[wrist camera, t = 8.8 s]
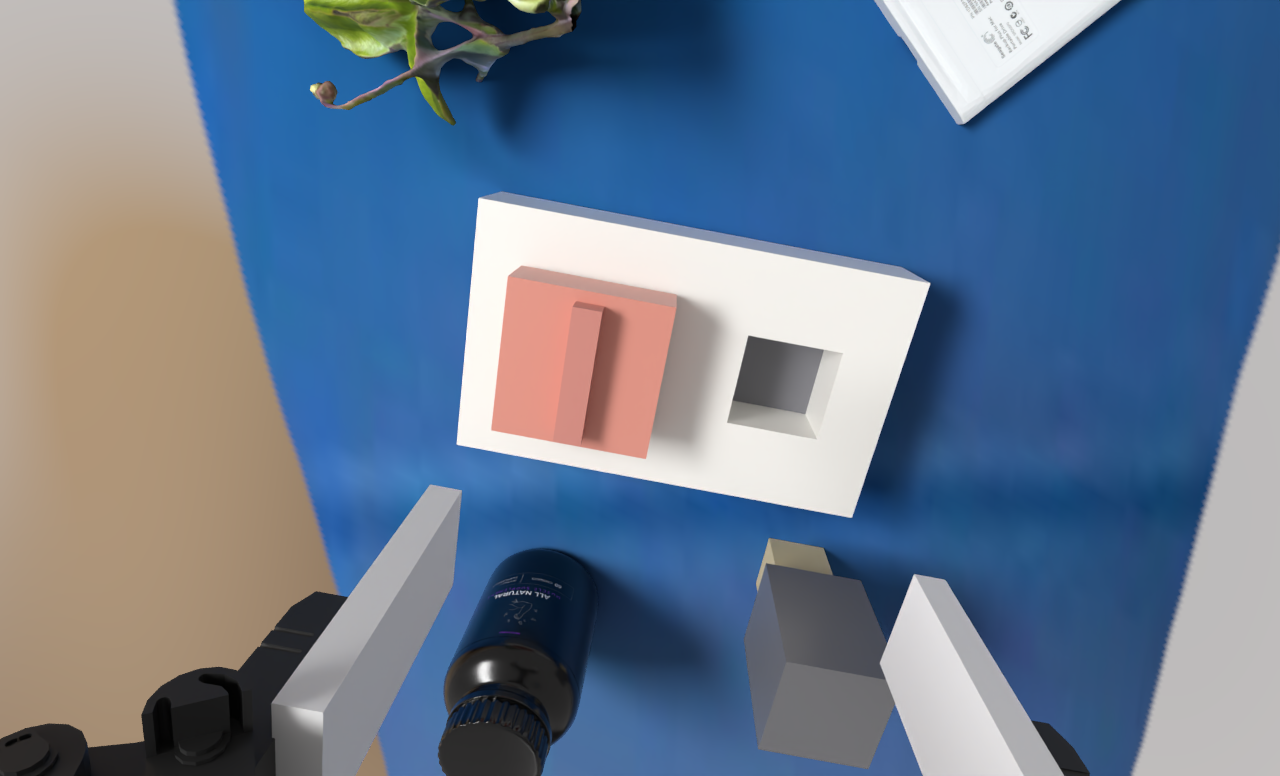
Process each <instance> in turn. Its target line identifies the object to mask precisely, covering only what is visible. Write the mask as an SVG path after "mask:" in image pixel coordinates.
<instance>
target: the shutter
mask: <svg viewBox="0 0 1280 776" xmlns="http://www.w3.org/2000/svg"><path fill="white" fill-rule="evenodd" d="M676 308H677V295H676V294H671V293H665V292H660V291H655V290H649V289H644V288H639V287H633V286H628V285H623V284H617V283H612V282H607V281H602V280H596V279H591V278H586V277H580V276H575V275H570V274H564V273H559V272H554V271H548V270H543V269H538V268H533V267H527V266H522V265H521V266H520V267H519V268H517V269H516V270H515V271H514V272H512V273H511V274H510V275H508V279H507V288H506V298H505V307H504V316H503V325H502V334H501V343H500V353H499V362H498V371H497V380H496V389H495V399H494V408H493V417H492V426H491V430H492V431H497V432H503V433H508V434H513V435H519V436H524V437H529V438H535V439H540V440H546V441H551V442H556V443H562V444H567V445H573V446H578V447H583V448H589V449H594V450H599V451H605V452H610V453H616V454H621V455H626V456H632V457H637V458H642V459H646V457H647V452H648V447H649V442H650V437H651V432H652V427H653V422H654V417H655V412H656V407H657V402H658V397H659V392H660V387H661V382H662V378H663V373H664V368H665V363H666V358H667V353H668V348H669V343H670V338H671V333H672V328H673V323H674V318H675V313H676Z"/></svg>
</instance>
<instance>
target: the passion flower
mask: <svg viewBox="0 0 1280 776" xmlns="http://www.w3.org/2000/svg"><path fill="white" fill-rule="evenodd" d="M446 1H449V0H304V12H305V13H306V14H307V15H308V16H309V17H310V18H312V19H313V20H314V21H315V22H316V23H317V24H318V25H319V26H320V27H322V28H323V29H325V30H326V31H328V32H329V33H330V34H331V35H333V36H334V37H336V38H337V39H338V40H339V41H340V42H341V44H342V46H343V47H344V48H345V49H348V50H350V51H352V52H353V53H355V54H356V55H357V56H359V57H361V58H364V59H369V58H375V57H379V56H382V55H385V54H388V53H392V52H396V51H399V50H405V51H407V54H408V60H409V66H410V68H411V70H409V71H407V72H405V73H403V74H401V75H399V76H398V77H396V78H394V79H391V80H387V81H386V82H384V84H383V85H382V86H380V87H379V88H377V89H375V90H372V91H370V92H367V93H365V94H362V95H360V96H358V97H356V98H355V99H353V100H351V101H349V102H348V103H346V104H343V105H339V106H336V105H334V104H333V101H334V100H335V98H336V95H337V90H336V87H335V86H334V85H333V83H331V82H330V81H326V82H324V83H323V84H322V83H317V84H313V85H312V86H311V88H310V91H311V92H313V95H314V96H315V97H316V98H317V99H320V102H321V103H322V104H323V105H324V106H325V107H328V108H333V109H346V110H350V109H352V108H353V107H355V106H357V105H359V104H362V103H364V102H367V101H369V100H371V99H372V98H375V97H377V96H379V95H381V94H384V93H385V92H387V91H388V90H390V89H392V88H393V87H395V86H397V85H401V84H402V83H403V82H404V81H405V80H407V79H409V78H411V77H416V79H417V81H418V85H419V87H420V90H421V92H422V94H423V96H424V98H425V99H426V100H427V102H428V103H429V104H430V106H431V107H432V108H433V110H434V111H435V112H436V113H437V115H438V116H440V117H441V118H442V119H444V120H445V121H447V122H448V123H450V124H451V125H455V123H456V121H455V120H454V118H453V116H452V114H451V112H450V110H449V108H448V106H447V104H446V102H445V100H444V98H443V96H442V94H441V91H440V87H439V75H440V70H441V67H442V66H443V65H444V64H445V63H446V62H448V61H449V60H451V59H453V58H457V59H462V60H463V61H464V62H465V63H467V64H470V65H472V66H474V67H475V68H477V69H478V71H479V73H478V75H477V78H476V81H477V82H482V80H483V78H484V76H486V75H487V73H488V71H489V68H490V67H491V66H492V64H493V63H494V62H495V61H496V59H498V58H501V57H503V56H505V55H506V54H508V53H509V51H510V48H511V47H512V46H517V45H521V44H525V43H527V42H529V41H532V40H537V39H542V38H546V37H560V36H561V35H563V34H565V33H568V32H572V31H573V30H574V29H575V27H576V20H577V19H578V17H579V15H580V13H581V0H508V1H509V2H511V3H512V4H513V5H514V6H515V7H516V8H518V9H519V10H521V11H524V12H527V13H535V14H536V13H544V12H545V11H548V12H550V13H551V14H552V16H554V17H555V18H556V21H555V22H554V23H552V24H550V25H547V26H541V27H538V28H534V27H533V28H531V29H530V30H527V31H521V32H518V33H515V34H511V35H506V34H504V33H503V32H502V31H501V30H500V29H499V28H497V27H496V26H494V25H492V24H489V23H487V22H485V21H484V20H482V19H481V18H480V16H479V15H478V13H477V11H476V9H475V6H474V3H473V0H465V6H464V8H463V10H462V11H460V12H452V11H449V10H446V9H444V8H443V7H442V6H440V4H442V3H444V2H446ZM477 1H479V2H480V1H485V0H477ZM440 22H453V23H456V24H458V25H460V26H462V27H464V28H465V29H467V30H468V31H470V32H471V33H472V34H473V38H472V39H470V40H468V41H465V42H463V43H461V44H459V45H457V46H455V47H452V48H449V49H446V50H441V51H438V50H437V49H436V48H435V47H434V46H433V44H432V40H431V35H432V34H433V32H434V31H435V29H436V26H437V25H438V24H439V23H440Z"/></svg>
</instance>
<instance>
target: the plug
mask: <svg viewBox="0 0 1280 776" xmlns="http://www.w3.org/2000/svg"><path fill="white" fill-rule="evenodd" d="M756 586H757V592H758V593H757V596H756V599H755V603H754V606H753V610H752V613H751V617H750V620H749V623H748V627H747V630H746V634H745V637H744V645H745V652H746V660H747V668H748V675H749V683H750V691H751V698H752V706H753V714H754V721H755V729H756V737H757V744H758V749H760V750H766V751H771V752H777V753H782V754H788V755H793V756H799V757H804V758H810V759H815V760H821V761H826V762H832V763H837V764H843V765H848V766H854V767H859V768H865V769H868V768H869V766H870V764H871V761H872V759H873V756H874V754H875V751H876V749H877V746H878V744H879V741H880V739H881V737H882V734H883V732H884V729H885V727H886V724H887V722H888V719H889V717H890V715H891V712H892V710H893V707H894V705H895V702H894V699H893V696H892V694H891V691H890V689H889V686H888V683H887V681H886V678H885V676H884V673H883V670H882V668H881V665H880V661H881V659H882V656H883V653H884V651H885V648H886V646H887V643H886V640H885V638H884V635H883V633H882V630H881V628H880V626H879V623H878V621H877V618H876V616H875V614H874V611H873V609H872V606H871V604H870V602H869V599H868V597H867V594H866V592H865V589H864V587H863V585H862V582H861V581H860V580H855V579H850V578H844V577H839V576H833V574H832V571H831V568H830V565H829V562H828V560H827V557H826V554H825V551H824V548H821V547H815V546H810V545H804V544H799V543H794V542H788V541H783V540H777V539H772V538H769V540H768V544H767V547H766V551H765V554H764V558H763V561H762V564H761V568H760V571H759V575H758V578H757V582H756Z"/></svg>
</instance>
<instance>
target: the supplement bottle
mask: <svg viewBox="0 0 1280 776" xmlns="http://www.w3.org/2000/svg"><path fill="white" fill-rule="evenodd" d="M597 611H598V593H597V589H596V586H595V583H594V581H593V579H592V578H591V576H590V575H589V573H588V572H587V571H586V570H585V568H584V567H583V566H582V565H580V564H579V563H578V562H577V561H575V560H574V559H572V558H571V557H569V556H567V555H565V554H562V553H559V552H556V551H552V550H546V549H531V550H526V551H522V552H519V553H516V554H514V555H512V556H510V557H508V558H507V559H505V560H504V561H503V562H502V563H501V564H500V565H499V566H498V567H497V568H496V569H495V571H494V572H493V574H492V576H491V578H490V580H489V582H488V584H487V586H486V588H485V590H484V592H483V594H482V596H481V599H480V601H479V603H478V605H477V607H476V609H475V612H474V614H473V616H472V618H471V620H470V622H469V625H468V627H467V629H466V631H465V633H464V635H463V638H462V640H461V642H460V644H459V646H458V648H457V651H456V653H455V655H454V657H453V659H452V662H451V664H450V666H449V669H448V671H447V674H446V677H445V681H444V702H445V706H446V709H447V712H448V715H449V717H448V720H447V724H446V728H445V731H444V733H443V735H442V738H441V741H440V743H439V747H438V749H439V752H438V757H439V759H440V760H439V764H440V765H441V767H442V771H443V772H444V773H445V774H446V776H541V774H542V772H543V768H544V764H545V760H546V757H547V755H548V753H549V750H550V746H551V745H553V744H554V743H556V742H557V741H558V740H559V739H560V738H562V737H563V736H564V734H565V733H566V732H567V731H568V730H569V728H570V727H571V725H572V723H573V722H574V720H575V717H576V714H577V710H578V707H579V703H580V698H581V693H582V688H583V683H584V678H585V673H586V668H587V663H588V658H589V653H590V648H591V643H592V638H593V633H594V628H595V623H596V617H597Z"/></svg>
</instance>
